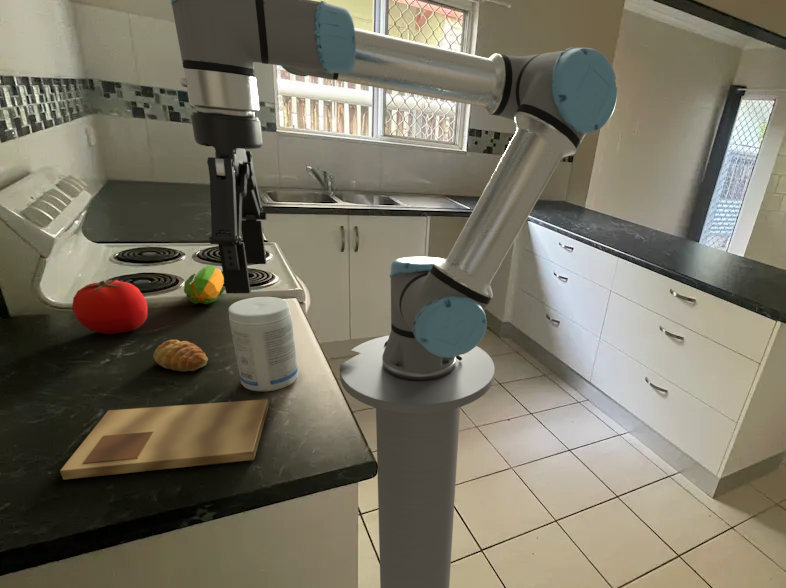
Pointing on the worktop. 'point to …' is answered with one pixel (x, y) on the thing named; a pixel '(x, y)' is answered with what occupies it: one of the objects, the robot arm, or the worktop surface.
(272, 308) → the supplement tub
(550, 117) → the robot arm
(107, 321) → the tomato
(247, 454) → the cutting board
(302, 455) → the worktop surface
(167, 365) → the pastry
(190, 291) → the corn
